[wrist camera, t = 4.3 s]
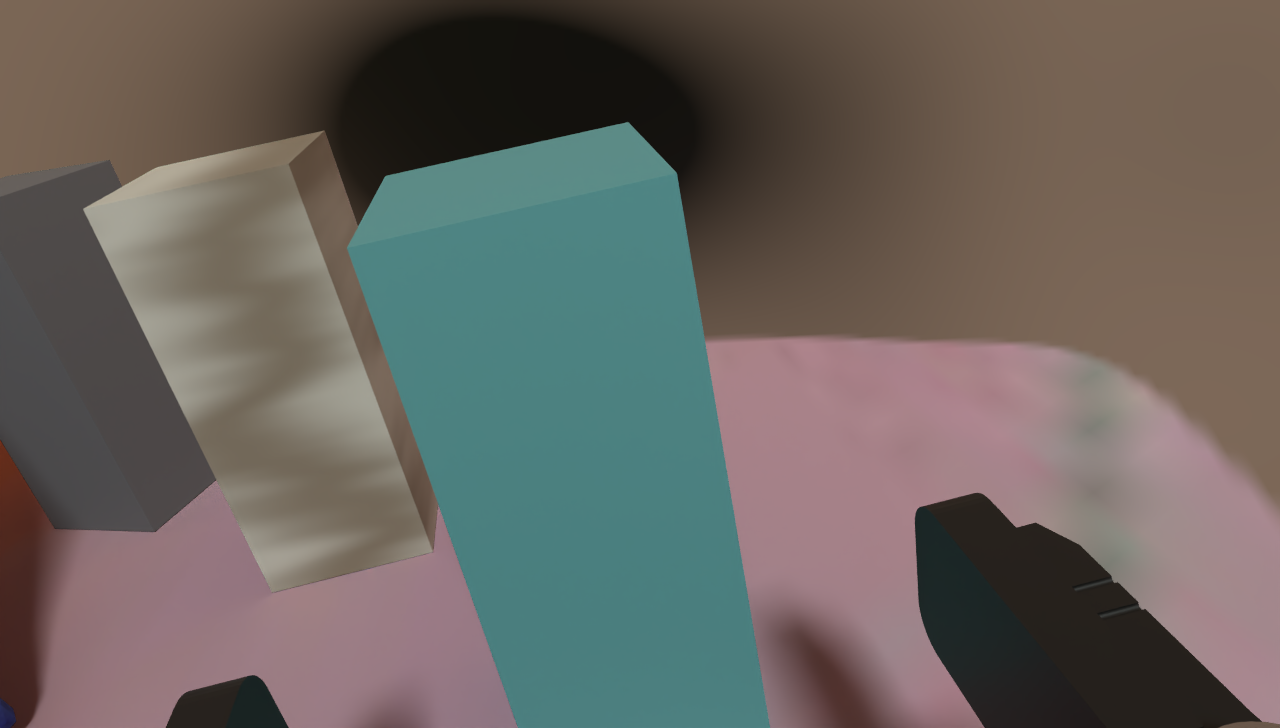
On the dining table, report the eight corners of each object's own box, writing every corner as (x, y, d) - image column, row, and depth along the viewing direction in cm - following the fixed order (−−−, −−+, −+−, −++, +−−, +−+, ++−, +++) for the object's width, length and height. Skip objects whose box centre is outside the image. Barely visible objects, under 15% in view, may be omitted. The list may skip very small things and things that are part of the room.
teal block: (542, 795, 16) (346, 248, 11) (532, 630, 20) (385, 176, 15) (770, 732, 16) (676, 173, 11) (714, 582, 20) (628, 122, 15)
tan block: (271, 592, 23) (82, 208, 18) (304, 501, 27) (156, 167, 22) (433, 552, 23) (288, 163, 19) (441, 467, 27) (324, 130, 23)
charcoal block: (54, 528, 29) (-135, 220, 24) (153, 454, 32) (7, 176, 28) (154, 532, 27) (-25, 204, 22) (246, 453, 31) (109, 160, 26)
